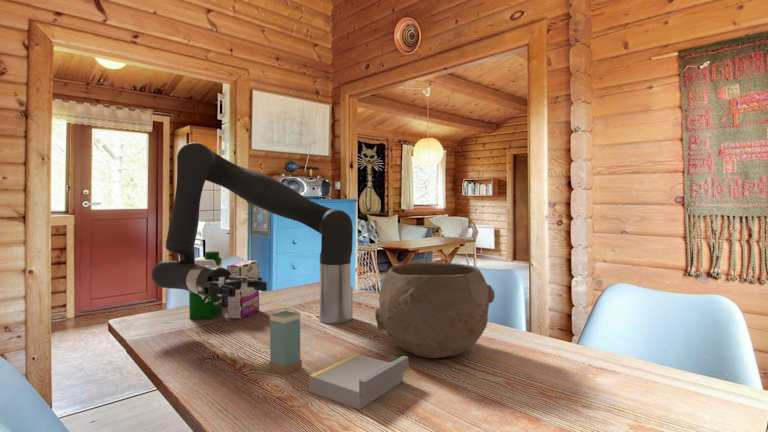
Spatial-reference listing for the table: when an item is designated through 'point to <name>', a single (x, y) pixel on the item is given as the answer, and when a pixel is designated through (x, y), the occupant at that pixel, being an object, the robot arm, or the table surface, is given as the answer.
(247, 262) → the candy bar box
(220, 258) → the milk carton
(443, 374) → the table surface
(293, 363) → the teal tall block
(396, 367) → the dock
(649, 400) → the table surface
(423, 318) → the bowl
